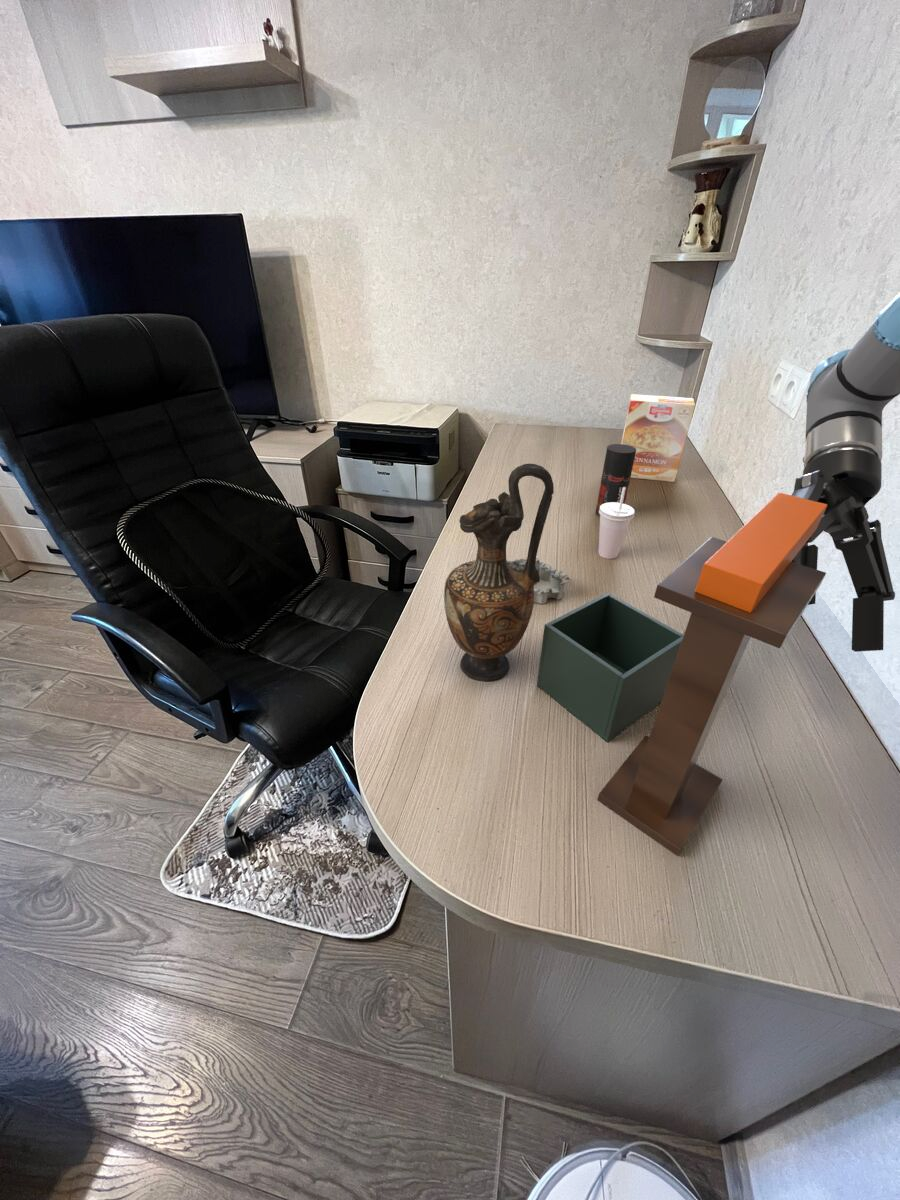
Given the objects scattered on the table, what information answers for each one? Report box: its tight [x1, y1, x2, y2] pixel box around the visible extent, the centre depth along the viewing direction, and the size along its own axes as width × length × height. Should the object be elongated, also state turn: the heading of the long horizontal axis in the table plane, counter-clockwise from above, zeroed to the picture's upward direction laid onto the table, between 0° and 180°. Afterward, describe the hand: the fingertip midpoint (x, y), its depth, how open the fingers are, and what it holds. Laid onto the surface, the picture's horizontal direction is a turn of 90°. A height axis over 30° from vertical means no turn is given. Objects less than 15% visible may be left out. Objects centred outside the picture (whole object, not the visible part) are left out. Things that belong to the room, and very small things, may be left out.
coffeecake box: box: [620, 393, 696, 483], centre depth 128 cm, size 15×7×20 cm, turn 73°
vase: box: [443, 463, 555, 682], centre depth 63 cm, size 12×12×30 cm
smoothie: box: [598, 487, 636, 560], centre depth 95 cm, size 6×6×14 cm
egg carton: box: [507, 557, 571, 605], centre depth 88 cm, size 11×8×4 cm
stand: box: [597, 536, 827, 857], centre depth 47 cm, size 11×9×28 cm
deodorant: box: [595, 443, 636, 518], centre depth 110 cm, size 6×6×15 cm
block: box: [695, 492, 827, 613], centre depth 41 cm, size 18×4×2 cm, turn 136°
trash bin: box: [536, 592, 684, 743], centre depth 65 cm, size 12×12×11 cm
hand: (834, 628), depth 54 cm, fingers open, 13 cm apart
